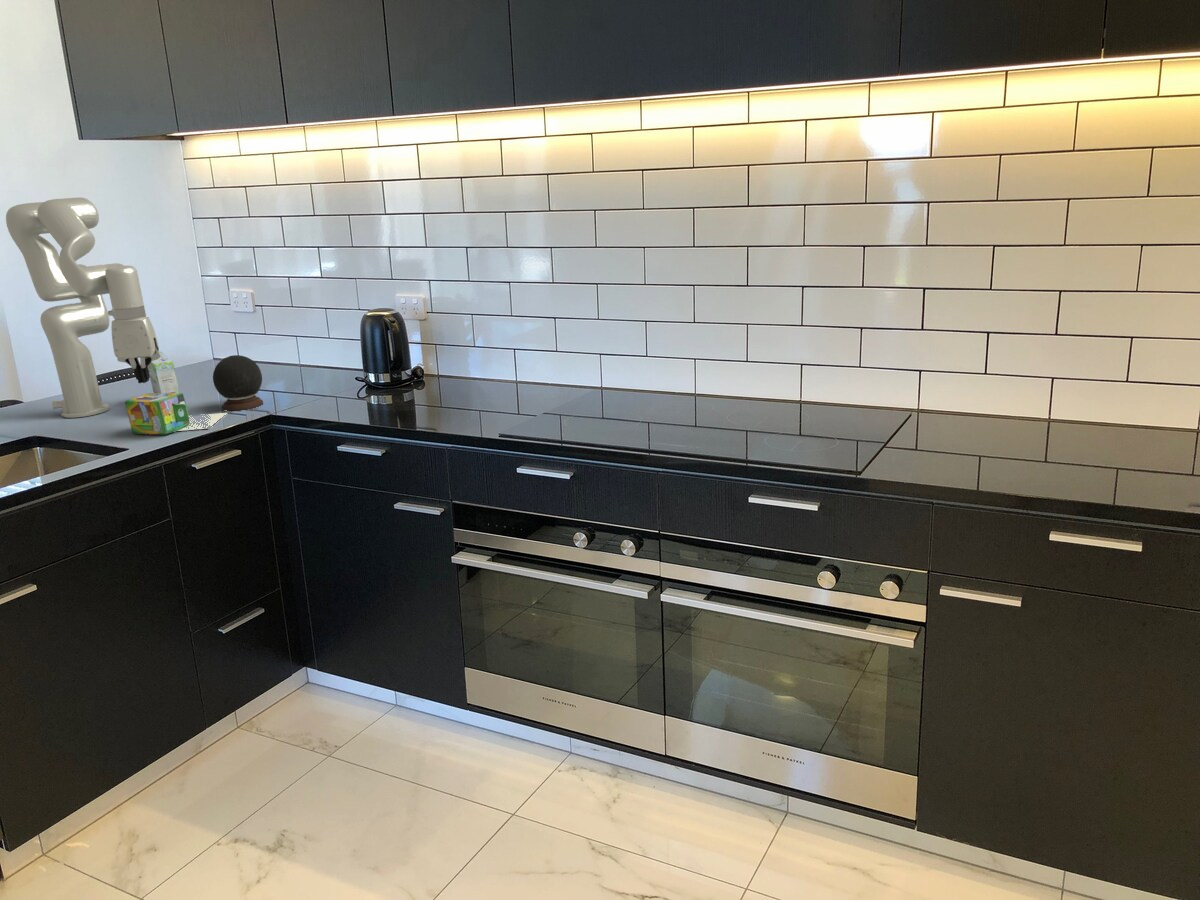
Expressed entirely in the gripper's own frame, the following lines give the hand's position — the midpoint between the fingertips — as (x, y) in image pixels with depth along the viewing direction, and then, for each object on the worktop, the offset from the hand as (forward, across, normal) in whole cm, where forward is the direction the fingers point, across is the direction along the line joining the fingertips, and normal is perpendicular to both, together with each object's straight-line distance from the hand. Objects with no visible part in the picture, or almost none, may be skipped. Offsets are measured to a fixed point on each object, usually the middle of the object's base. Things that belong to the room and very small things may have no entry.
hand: (143, 381), depth 247 cm
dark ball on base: (+13, +20, +16) cm, 28 cm away
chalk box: (+8, -1, -3) cm, 9 cm away
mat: (+12, +10, 0) cm, 16 cm away
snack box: (+13, -4, +24) cm, 27 cm away
